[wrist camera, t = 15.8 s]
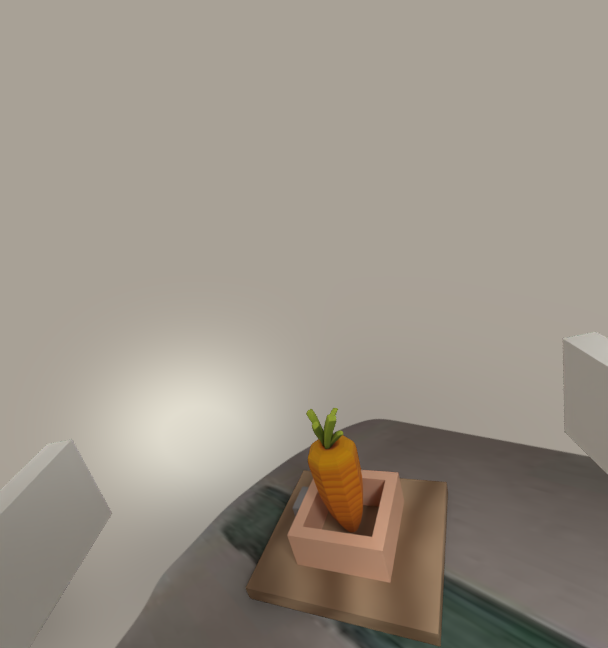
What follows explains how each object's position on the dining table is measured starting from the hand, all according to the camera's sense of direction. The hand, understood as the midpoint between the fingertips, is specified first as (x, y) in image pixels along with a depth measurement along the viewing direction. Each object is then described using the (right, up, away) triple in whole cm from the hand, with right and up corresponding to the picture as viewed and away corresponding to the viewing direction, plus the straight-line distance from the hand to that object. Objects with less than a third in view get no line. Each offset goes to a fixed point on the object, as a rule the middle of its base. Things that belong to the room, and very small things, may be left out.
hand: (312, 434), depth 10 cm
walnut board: (+5, -20, +31) cm, 37 cm away
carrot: (+5, -19, +30) cm, 36 cm away
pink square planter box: (+5, -19, +30) cm, 36 cm away
